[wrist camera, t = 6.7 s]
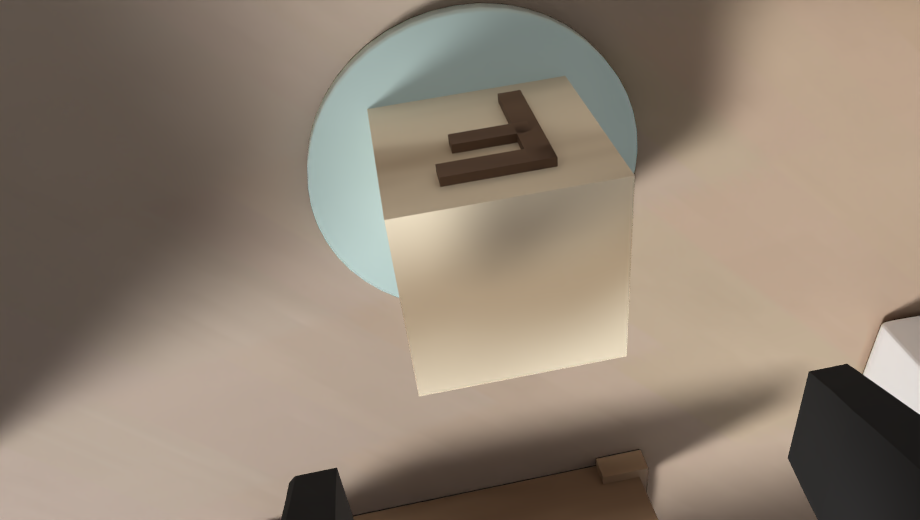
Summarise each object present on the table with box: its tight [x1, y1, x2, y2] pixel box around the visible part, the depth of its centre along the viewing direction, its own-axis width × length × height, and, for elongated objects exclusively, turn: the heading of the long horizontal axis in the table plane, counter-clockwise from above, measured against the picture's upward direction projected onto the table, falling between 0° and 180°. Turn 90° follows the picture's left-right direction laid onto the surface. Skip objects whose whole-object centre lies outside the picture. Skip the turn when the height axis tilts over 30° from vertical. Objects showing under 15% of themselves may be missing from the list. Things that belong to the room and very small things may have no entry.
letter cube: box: [367, 76, 635, 397], centre depth 16 cm, size 5×4×4 cm
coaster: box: [307, 3, 637, 298], centre depth 18 cm, size 8×8×1 cm
